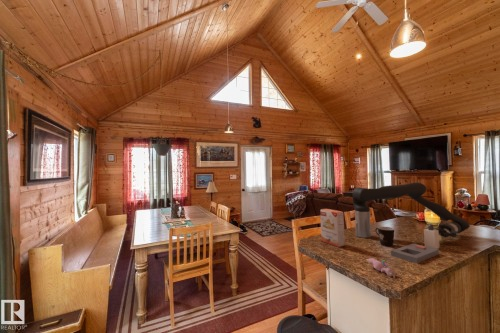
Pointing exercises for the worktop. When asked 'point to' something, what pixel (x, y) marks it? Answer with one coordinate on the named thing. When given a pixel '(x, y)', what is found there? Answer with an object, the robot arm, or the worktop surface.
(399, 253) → the socket
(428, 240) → the plug
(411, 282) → the worktop surface
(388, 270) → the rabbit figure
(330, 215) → the cracker box
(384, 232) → the coffee mug
